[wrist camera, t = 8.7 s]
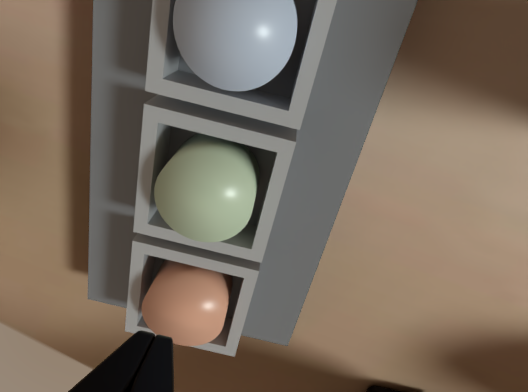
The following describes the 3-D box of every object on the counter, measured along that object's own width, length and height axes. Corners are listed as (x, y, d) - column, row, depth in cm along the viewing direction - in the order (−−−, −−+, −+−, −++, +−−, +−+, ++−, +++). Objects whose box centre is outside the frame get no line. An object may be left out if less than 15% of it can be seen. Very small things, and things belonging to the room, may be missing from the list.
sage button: (249, 220, 19) (242, 252, 16) (168, 200, 19) (149, 229, 16) (268, 144, 17) (263, 168, 14) (179, 122, 17) (159, 142, 14)
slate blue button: (282, 88, 16) (279, 104, 13) (186, 63, 15) (166, 74, 13) (310, -23, 14) (312, -27, 11) (201, -52, 14) (181, -61, 11)
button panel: (288, 320, 24) (286, 375, 21) (103, 276, 24) (69, 324, 21) (417, -36, 15) (453, -47, 12) (120, -116, 15) (63, -152, 11)
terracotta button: (225, 315, 22) (216, 353, 19) (155, 299, 22) (138, 335, 19) (239, 260, 20) (231, 295, 18) (163, 242, 20) (145, 274, 17)
